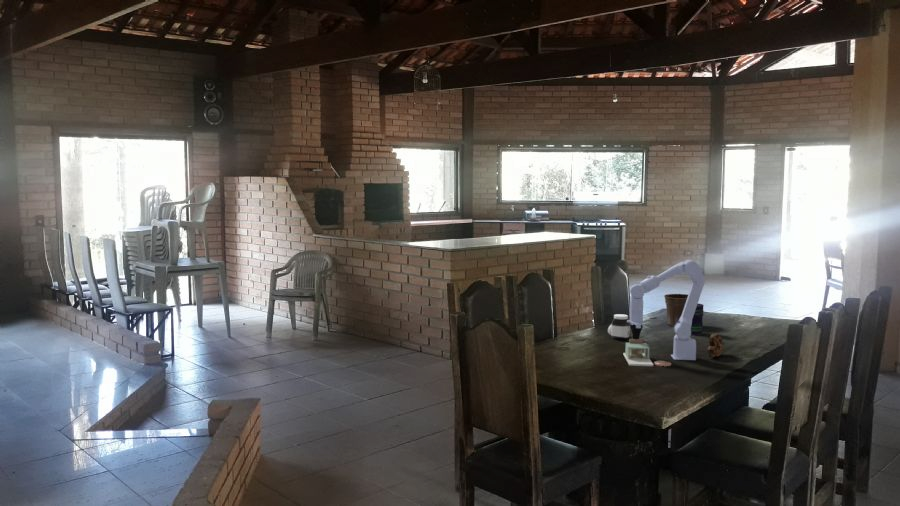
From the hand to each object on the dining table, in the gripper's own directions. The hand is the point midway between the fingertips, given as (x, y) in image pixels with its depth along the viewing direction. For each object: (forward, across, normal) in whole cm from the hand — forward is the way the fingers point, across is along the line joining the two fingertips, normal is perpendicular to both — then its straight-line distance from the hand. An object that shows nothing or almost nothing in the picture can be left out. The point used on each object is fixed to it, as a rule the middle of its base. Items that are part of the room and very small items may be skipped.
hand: (635, 340), depth 329 cm
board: (+7, +8, 0) cm, 10 cm away
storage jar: (+7, -53, +37) cm, 65 cm away
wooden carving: (+7, -3, +36) cm, 37 cm away
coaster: (+7, +14, +10) cm, 19 cm away
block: (+7, +3, 0) cm, 8 cm away
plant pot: (+7, -73, +34) cm, 81 cm away
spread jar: (+7, -38, -3) cm, 39 cm away
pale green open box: (+6, +5, 0) cm, 8 cm away
